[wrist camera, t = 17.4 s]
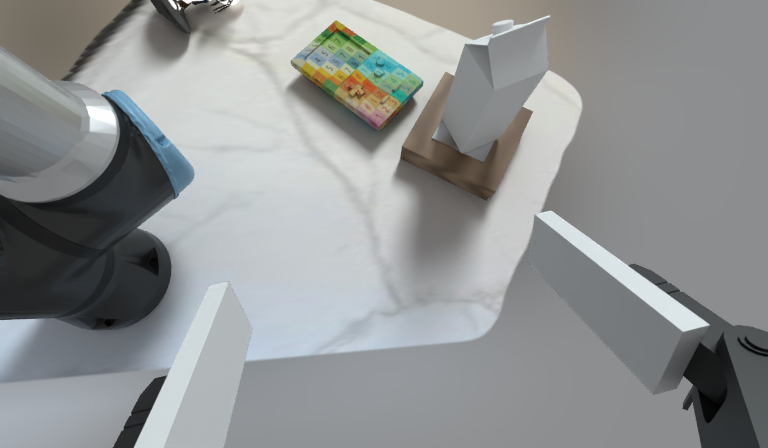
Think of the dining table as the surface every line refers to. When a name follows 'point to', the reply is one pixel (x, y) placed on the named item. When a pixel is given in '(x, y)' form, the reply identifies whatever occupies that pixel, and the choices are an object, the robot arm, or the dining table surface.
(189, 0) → the figurine
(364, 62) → the puzzle game
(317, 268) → the dining table surface
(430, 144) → the walnut riser
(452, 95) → the milk carton
